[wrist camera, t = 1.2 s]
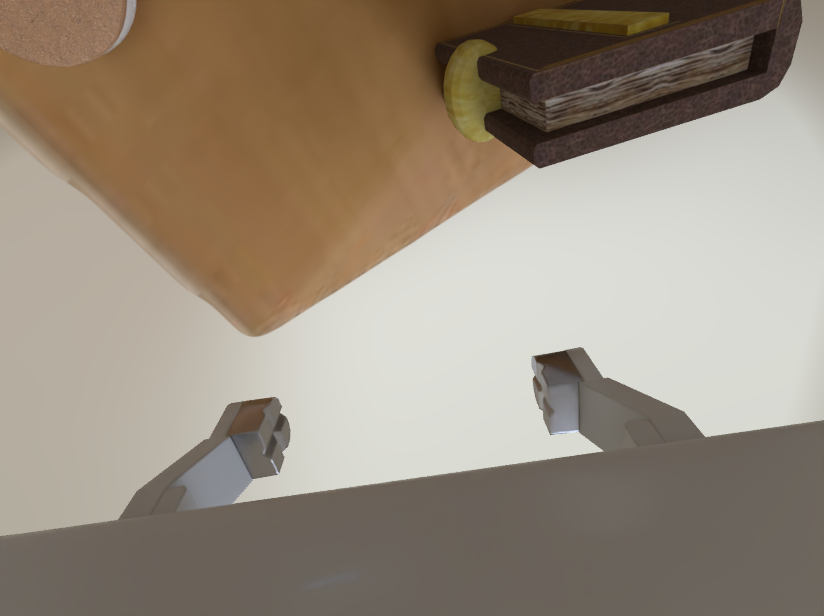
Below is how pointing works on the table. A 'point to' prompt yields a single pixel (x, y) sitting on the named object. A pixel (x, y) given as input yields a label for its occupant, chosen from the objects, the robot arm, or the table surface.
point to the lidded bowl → (63, 29)
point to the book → (613, 70)
